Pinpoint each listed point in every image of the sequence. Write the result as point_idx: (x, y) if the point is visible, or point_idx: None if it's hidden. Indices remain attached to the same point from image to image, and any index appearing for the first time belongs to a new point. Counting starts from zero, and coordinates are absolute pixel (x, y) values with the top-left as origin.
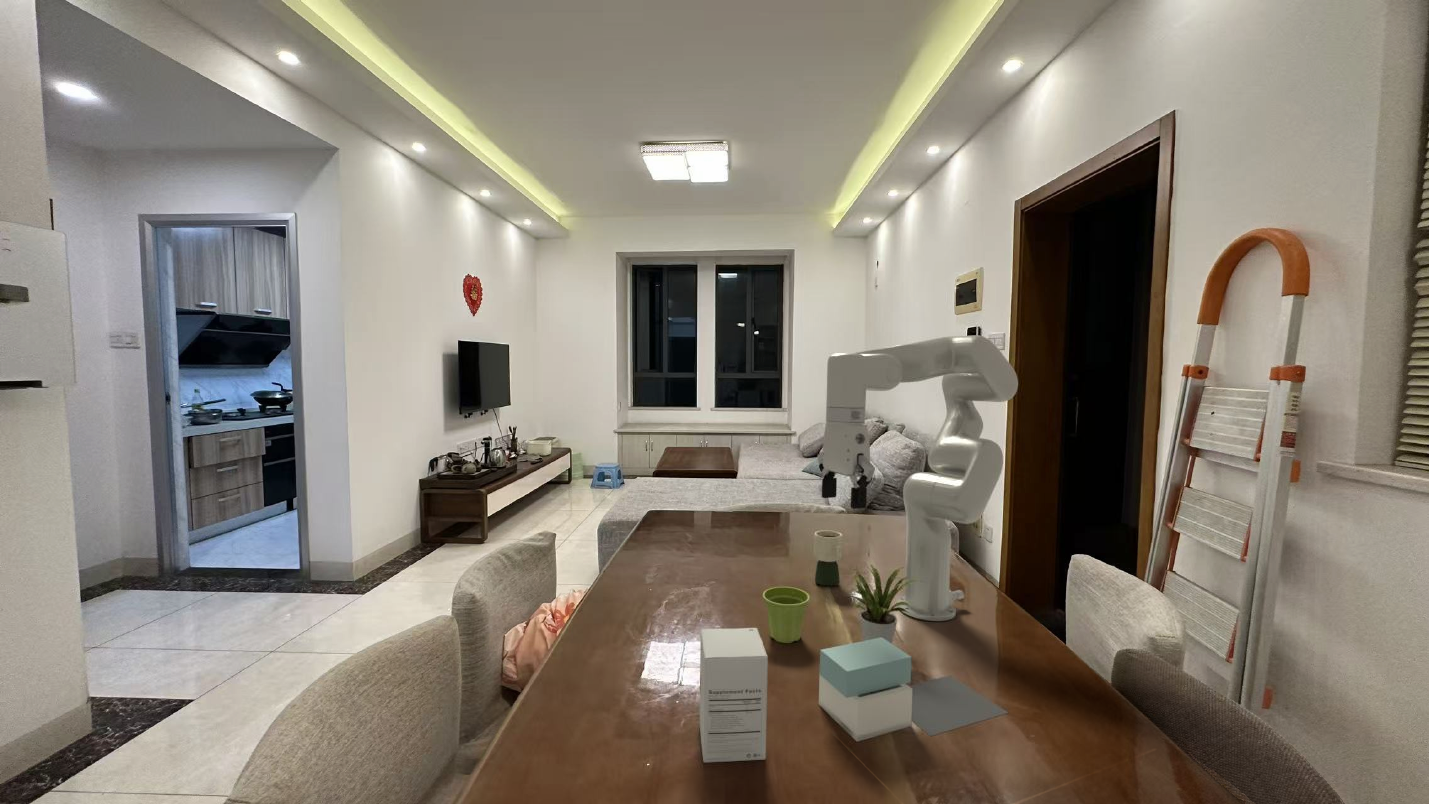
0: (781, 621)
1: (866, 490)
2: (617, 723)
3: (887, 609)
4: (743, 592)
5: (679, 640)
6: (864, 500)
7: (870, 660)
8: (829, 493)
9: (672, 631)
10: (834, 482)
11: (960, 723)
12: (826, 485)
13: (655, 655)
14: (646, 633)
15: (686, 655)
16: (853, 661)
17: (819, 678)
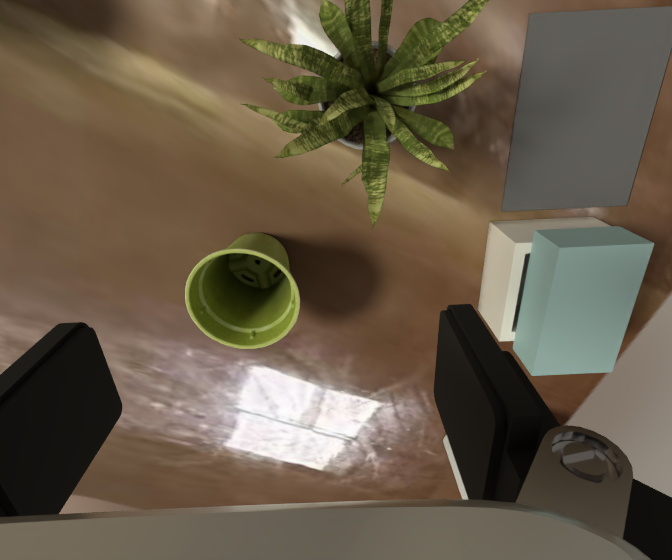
0: (282, 302)
1: (526, 391)
2: (403, 499)
3: (447, 128)
4: (11, 250)
5: (231, 414)
6: (516, 369)
7: (611, 321)
8: (95, 396)
9: (197, 416)
10: (13, 429)
11: (639, 133)
12: (67, 476)
13: (269, 448)
14: (197, 446)
15: (281, 416)
16: (595, 348)
17: (493, 332)
